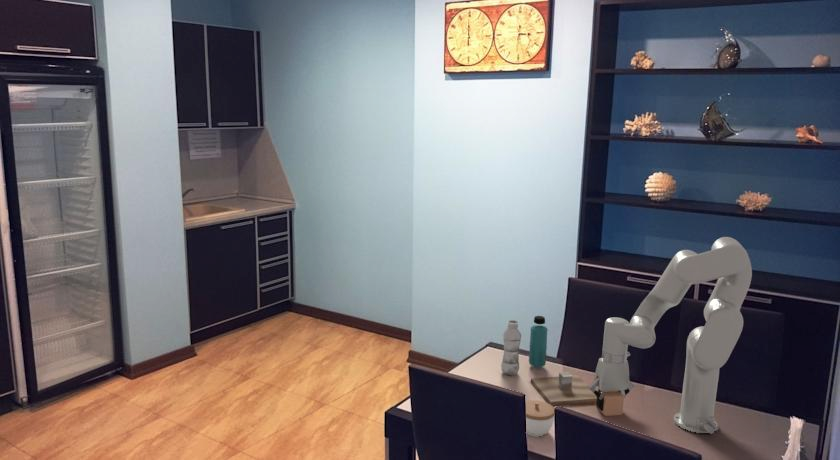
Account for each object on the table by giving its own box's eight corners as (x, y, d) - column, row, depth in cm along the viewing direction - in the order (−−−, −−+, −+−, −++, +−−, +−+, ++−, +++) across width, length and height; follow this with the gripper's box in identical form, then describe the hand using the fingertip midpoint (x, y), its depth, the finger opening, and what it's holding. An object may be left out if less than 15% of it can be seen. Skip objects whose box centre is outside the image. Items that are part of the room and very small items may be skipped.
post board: (600, 402, 208) (602, 384, 206) (550, 405, 204) (551, 387, 203) (577, 379, 225) (578, 362, 224) (530, 382, 222) (531, 365, 220)
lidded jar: (553, 443, 182) (555, 413, 180) (516, 438, 184) (518, 409, 182) (553, 425, 192) (555, 397, 190) (518, 421, 194) (519, 393, 192)
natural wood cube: (622, 414, 200) (624, 396, 198) (605, 415, 199) (606, 397, 197) (613, 405, 205) (614, 387, 204) (596, 407, 204) (598, 388, 203)
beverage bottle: (547, 371, 231) (550, 320, 227) (529, 370, 231) (532, 319, 227) (544, 364, 238) (547, 314, 234) (526, 363, 238) (529, 313, 234)
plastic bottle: (497, 371, 230) (500, 320, 226) (512, 368, 233) (515, 318, 229) (506, 378, 224) (509, 326, 220) (522, 375, 227) (525, 323, 223)
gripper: (632, 350, 204) (627, 401, 207) (583, 353, 200) (579, 404, 204) (645, 359, 196) (639, 412, 200) (594, 362, 193) (589, 415, 197)
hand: (609, 407), depth 202 cm, fingers closed on natural wood cube, 5 cm apart
